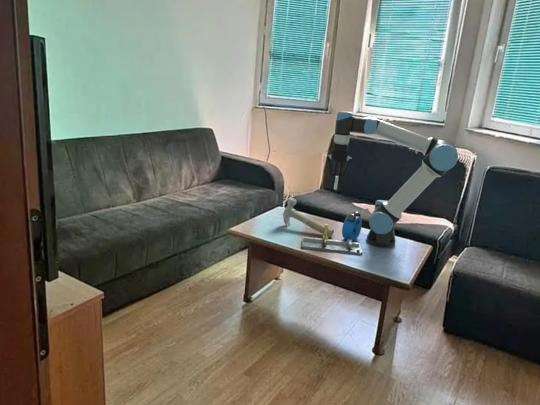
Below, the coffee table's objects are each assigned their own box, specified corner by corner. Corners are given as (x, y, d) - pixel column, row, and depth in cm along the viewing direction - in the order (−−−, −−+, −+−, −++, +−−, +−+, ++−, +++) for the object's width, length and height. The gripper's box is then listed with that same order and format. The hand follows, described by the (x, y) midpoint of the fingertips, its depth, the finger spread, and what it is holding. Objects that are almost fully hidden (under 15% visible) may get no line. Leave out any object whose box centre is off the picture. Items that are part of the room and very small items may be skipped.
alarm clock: (350, 234, 246) (353, 209, 242) (360, 237, 243) (364, 211, 239) (340, 240, 236) (343, 214, 232) (350, 244, 233) (354, 216, 228)
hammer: (338, 220, 238) (291, 197, 250) (335, 222, 234) (287, 198, 246) (328, 245, 244) (283, 221, 256) (325, 247, 240) (279, 223, 252)
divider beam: (358, 245, 229) (359, 239, 228) (359, 250, 221) (360, 245, 221) (304, 239, 230) (304, 233, 230) (303, 244, 223) (304, 239, 222)
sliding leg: (326, 240, 230) (329, 223, 227) (327, 246, 222) (329, 228, 220) (322, 240, 230) (324, 222, 227) (322, 245, 223) (324, 227, 220)
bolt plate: (359, 246, 230) (360, 243, 229) (362, 255, 219) (362, 251, 219) (302, 240, 232) (302, 237, 231) (301, 248, 221) (301, 244, 221)
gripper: (353, 143, 223) (347, 188, 230) (327, 140, 224) (322, 185, 231) (355, 145, 216) (348, 192, 223) (328, 142, 217) (322, 189, 223)
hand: (335, 188), depth 227 cm, fingers closed
